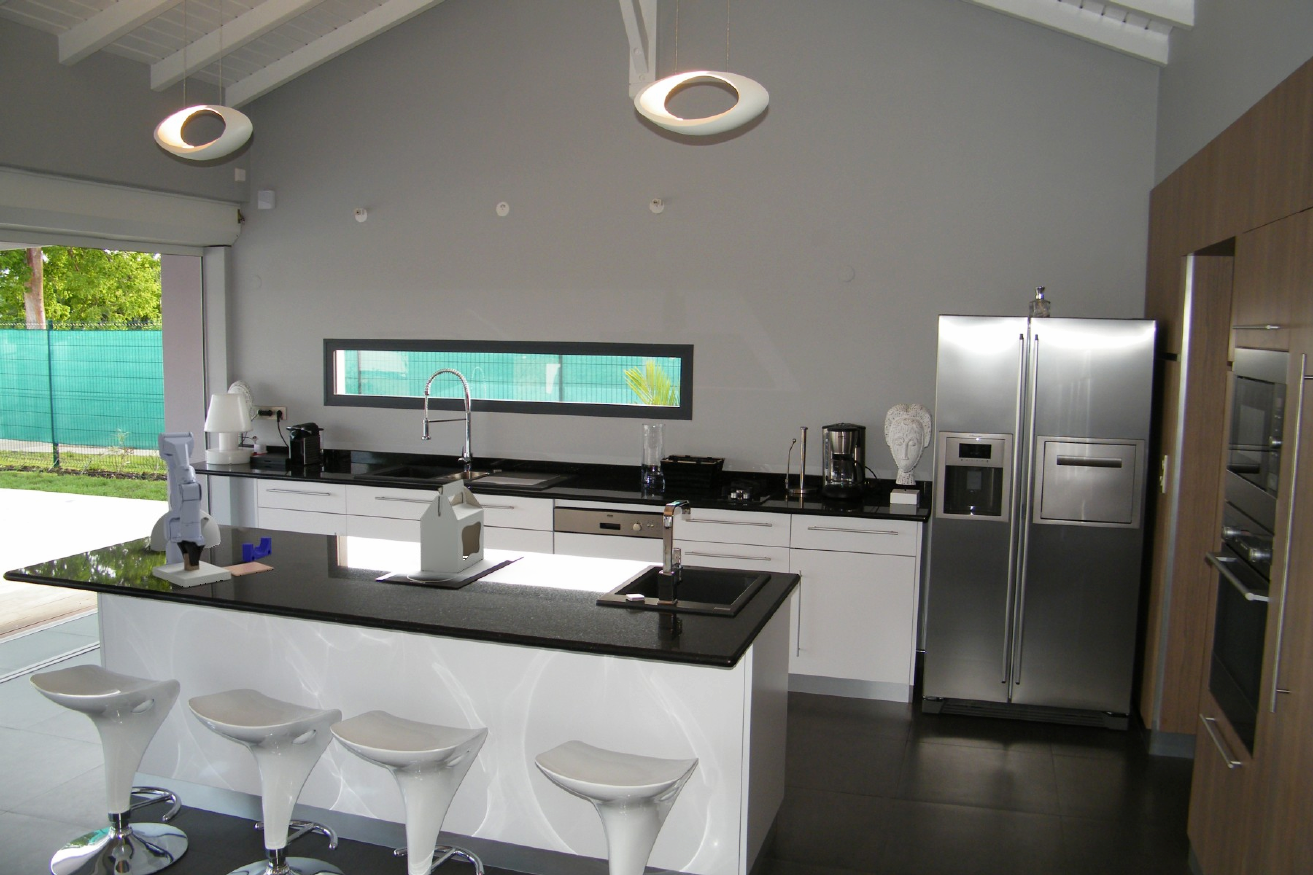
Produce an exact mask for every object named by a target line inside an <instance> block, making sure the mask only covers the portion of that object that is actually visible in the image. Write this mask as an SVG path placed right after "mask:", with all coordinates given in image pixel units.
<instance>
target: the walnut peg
mask: <svg viewBox="0 0 1313 875" xmlns="http://www.w3.org/2000/svg"><path fill="white" fill-rule="evenodd" d="M198 569H199V564H198V566H191V565H190V561H189V555H188V553H185V554H184V570H186V571H192V570H198Z"/></svg>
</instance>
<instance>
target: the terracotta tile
mask: <svg viewBox="0 0 1313 875" xmlns="http://www.w3.org/2000/svg"><path fill="white" fill-rule="evenodd" d="M221 568H223V569H226V570H229V571H231V575H233V576H236V577H240V575H241V576H245V575H250V574H256V572H257V573H262V572H267V570H268V571H272V569H275V568H274V567H273V566H269V565H267V564H263V563H260V562H256V561H251V562H246V563H241V564H236V565H235V564H233V565H229V566H223V567H221Z"/></svg>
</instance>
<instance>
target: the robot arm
mask: <svg viewBox="0 0 1313 875" xmlns="http://www.w3.org/2000/svg"><path fill="white" fill-rule="evenodd" d="M157 443H158V453H159V458H160V460H161V461H162V460H163V461H164V462H166V465H167V468H168V478H169V479H168V480H169V487H170V494H171V500H172V508H171V510H172V511H171V512H170V513H169V514H167V515H166V516H165V518H164V536H165V539H167V540H169V541H168V543H167V544H166V552H165V564H162V566H164V565H170V564H176V563H182V562H184V554H185V553H188V555H189V561H190V565H191V566H198V564H199V560H200V559H201V556H202V552H203V551H204V550H205V549H204V547H205V539H204V538H203V537H202V535H201V518H200V509H201V508H200V501H201V502H202V498H203V489H202V484H201V482H200V480H198V479H197V474H196V470H195V468H194V467H193V466H192V465H190V458H192V456H193V452H194V447H195V437H194V434H193V433H192V431H184V432H183V431H182V432H181V431H179V432H160V433H158V436H157ZM199 500H200V501H199ZM173 520H175V521H173ZM200 561H201V560H200Z"/></svg>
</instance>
